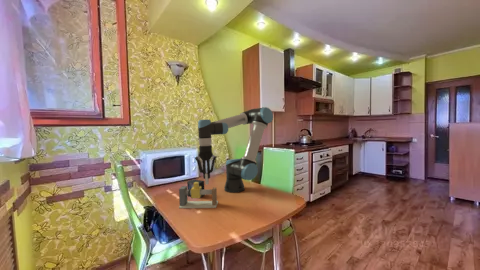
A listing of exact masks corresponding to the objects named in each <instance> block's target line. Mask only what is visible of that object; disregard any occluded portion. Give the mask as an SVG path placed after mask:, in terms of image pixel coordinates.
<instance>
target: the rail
mask: <svg viewBox="0 0 480 270" xmlns="http://www.w3.org/2000/svg"><path fill="white" fill-rule="evenodd" d="M217 190H218V189H217V187H212V189H209V188H208V189H204V190H200V195H208V196H210V195H211V200H193V201H191V200H190V201H189V200H188V197H190V196H191V189H189V190H188V188H187V185H183V186H182V185H181V187H180V188H179V189H178V195H179V205H178V209H216V208H217V206H218V203H219V200H218V196H217V194H218V193H217Z"/></svg>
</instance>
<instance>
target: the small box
mask: <svg viewBox="0 0 480 270" xmlns="http://www.w3.org/2000/svg"><path fill="white" fill-rule="evenodd" d="M186 182H187V183H186V186H187V190H189V189H192V188H193V187H194V182H199V187H201V190H205V180H199V179H191V180H187V181H186ZM189 197H191V196H189ZM203 197H205V195H201V197H200V198H203ZM200 198H199V199H200Z"/></svg>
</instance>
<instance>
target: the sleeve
mask: <svg viewBox="0 0 480 270" xmlns="http://www.w3.org/2000/svg"><path fill="white" fill-rule="evenodd" d="M200 190H201V187H199V182H194V187H193V188H192V189H191V199H200V197H201V195H200ZM201 198H202V197H201Z"/></svg>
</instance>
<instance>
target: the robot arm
mask: <svg viewBox="0 0 480 270" xmlns="http://www.w3.org/2000/svg"><path fill="white" fill-rule="evenodd" d="M273 120H274V114H273V111H272V110H271V109H270V108H269V107H267V106H264V107H263V106H262V107H257V108H252V109H248V110H246V111H243V112H241V113H239V114H238V115H237V114H236V115H233V116H229V117H225V118H222V119H219V120H215V121H211V119H199V120H198V121H197V129H198V149H199V151H198V152H199V153H198V155H197V156H196V157H195V158H194V159H195V160H196V163H197V166H198V170H199V173H200V174H202V177H203V179H204V186H205V185H206V186H207V185H209V182H210V181H209V179H210V178H211V173H213V171H214V166H215V163H216V159H217V155H214V154H213V147H212V136H215V135H227V134H228V132H229V129H230V128H233V127H239V126H240V125H243V126H244V125H245V126H246V125H248V124H250V125H251V124H252V128H251V132H250V136H249V139H248V141H247V144H246V148H245V151H244V154H243V156H242V157H240V158H233V159H227V160H226V162H225V169H226V170H225V171H226V174H225V175H226V181H225V184H224V191H225V192H226V193H235V194H236V193H240V192H243V191H245V184H244V181H243V180H245V181H251V180H253V179H255V178H256V177H257V175H258V173H259V169H258V165H257V155H258V152H259V149H260V145H261V141H262V139H263V135H264V131H265V129H267V128H268V125H269V124H270V123H272V122H273ZM211 159H212V160H211ZM210 160H211V161H212V162H211V163H210ZM201 161H202V162H201ZM210 164H211V165H210Z"/></svg>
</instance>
